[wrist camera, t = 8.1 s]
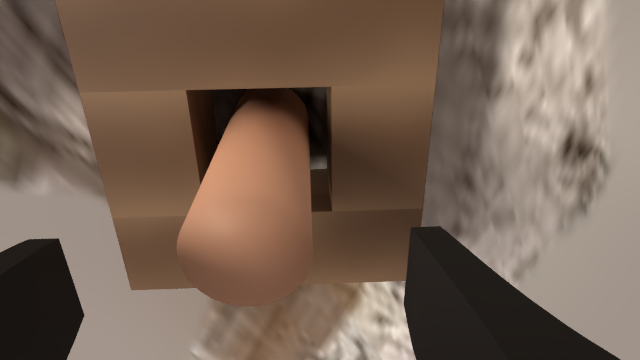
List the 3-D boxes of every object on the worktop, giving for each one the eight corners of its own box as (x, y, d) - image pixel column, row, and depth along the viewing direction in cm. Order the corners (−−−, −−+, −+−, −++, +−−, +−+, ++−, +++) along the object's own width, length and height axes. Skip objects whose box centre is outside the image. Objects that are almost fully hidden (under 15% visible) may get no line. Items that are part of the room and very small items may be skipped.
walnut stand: (398, 230, 20) (415, 280, 17) (158, 238, 20) (131, 290, 17) (418, -34, 16) (447, -31, 12) (100, -29, 15) (48, -24, 12)
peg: (308, 155, 19) (311, 306, 11) (236, 154, 19) (184, 306, 10) (309, 84, 17) (314, 195, 9) (231, 83, 17) (168, 195, 9)
